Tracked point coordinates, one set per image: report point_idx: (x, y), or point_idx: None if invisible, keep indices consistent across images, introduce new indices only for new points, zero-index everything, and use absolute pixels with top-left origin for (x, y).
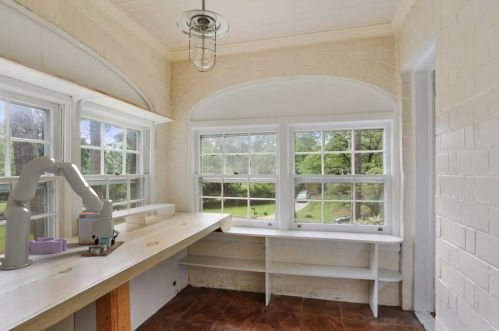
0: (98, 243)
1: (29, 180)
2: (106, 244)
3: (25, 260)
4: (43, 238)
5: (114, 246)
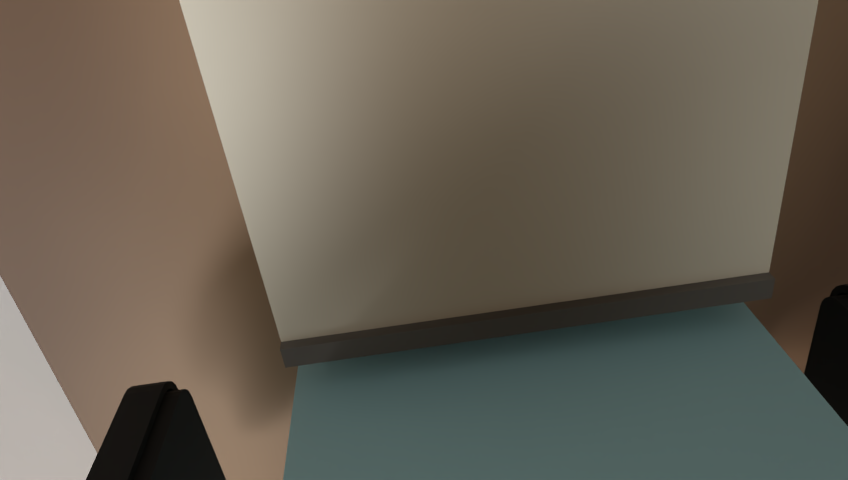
0: None
1: None
2: (271, 299)
3: None
4: None
5: None
